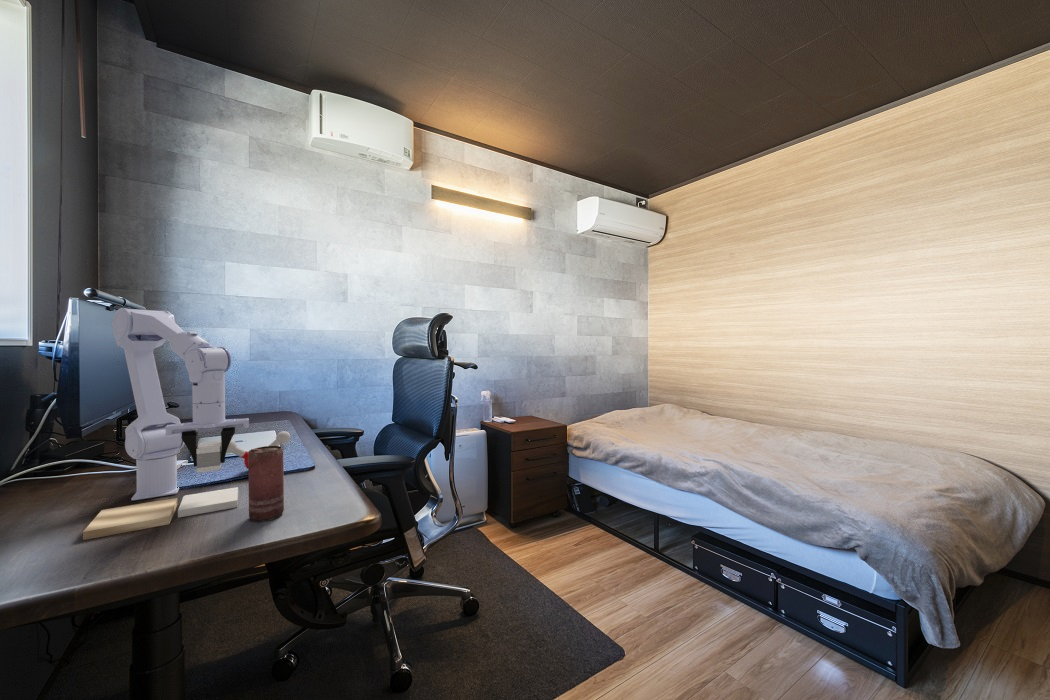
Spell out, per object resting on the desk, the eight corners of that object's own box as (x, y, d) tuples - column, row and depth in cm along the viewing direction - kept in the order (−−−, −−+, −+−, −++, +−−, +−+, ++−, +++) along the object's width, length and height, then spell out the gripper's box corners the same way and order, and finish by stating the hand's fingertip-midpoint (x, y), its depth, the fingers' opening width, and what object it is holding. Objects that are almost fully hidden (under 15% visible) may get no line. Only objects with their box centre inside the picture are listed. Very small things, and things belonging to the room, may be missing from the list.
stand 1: (102, 517, 86) (101, 509, 86) (177, 504, 92) (177, 497, 92) (82, 540, 76) (82, 531, 76) (169, 524, 82) (169, 516, 82)
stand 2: (184, 502, 94) (183, 495, 94) (238, 493, 99) (238, 487, 99) (177, 517, 85) (177, 510, 85) (237, 507, 91) (237, 500, 91)
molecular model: (224, 480, 108) (223, 442, 108) (215, 476, 112) (215, 439, 111) (293, 464, 123) (293, 430, 123) (284, 461, 126) (284, 428, 126)
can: (250, 513, 88) (250, 446, 87) (285, 508, 90) (284, 443, 90) (244, 524, 82) (243, 453, 82) (281, 519, 85) (280, 450, 84)
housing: (199, 464, 94) (199, 442, 94) (221, 462, 96) (221, 440, 96) (196, 472, 88) (196, 449, 88) (220, 469, 90) (219, 446, 90)
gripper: (162, 407, 85) (163, 474, 85) (248, 401, 93) (249, 462, 93) (168, 403, 90) (169, 465, 91) (248, 398, 98) (249, 455, 99)
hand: (209, 463), depth 92 cm, fingers closed on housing, 4 cm apart
